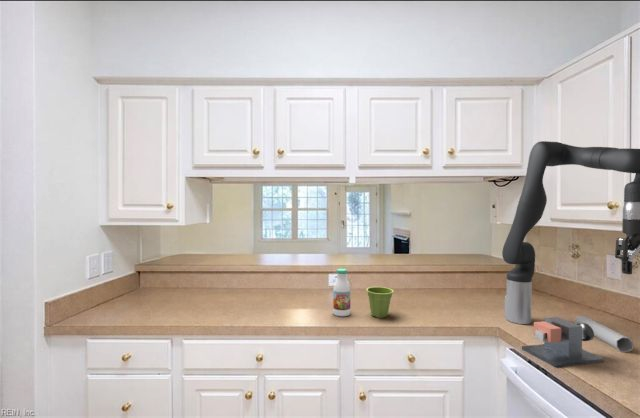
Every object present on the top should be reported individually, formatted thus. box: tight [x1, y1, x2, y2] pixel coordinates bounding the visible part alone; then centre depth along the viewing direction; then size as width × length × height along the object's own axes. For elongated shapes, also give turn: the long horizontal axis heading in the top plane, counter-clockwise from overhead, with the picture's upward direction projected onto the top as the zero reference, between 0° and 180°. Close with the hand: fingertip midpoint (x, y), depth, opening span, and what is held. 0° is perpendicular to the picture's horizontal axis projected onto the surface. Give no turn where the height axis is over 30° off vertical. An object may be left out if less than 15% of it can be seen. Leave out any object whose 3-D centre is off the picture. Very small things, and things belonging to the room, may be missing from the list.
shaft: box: [534, 323, 595, 343], centre depth 111 cm, size 6×18×6 cm, turn 101°
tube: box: [574, 315, 634, 353], centre depth 127 cm, size 5×5×25 cm
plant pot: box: [366, 286, 394, 319], centre depth 151 cm, size 12×12×11 cm
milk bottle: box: [332, 268, 351, 317], centre depth 152 cm, size 8×8×20 cm
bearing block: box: [521, 316, 605, 368], centre depth 111 cm, size 13×18×11 cm
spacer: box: [533, 320, 561, 342], centre depth 110 cm, size 6×4×4 cm, turn 12°
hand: (638, 273), depth 100 cm, fingers open, 8 cm apart
